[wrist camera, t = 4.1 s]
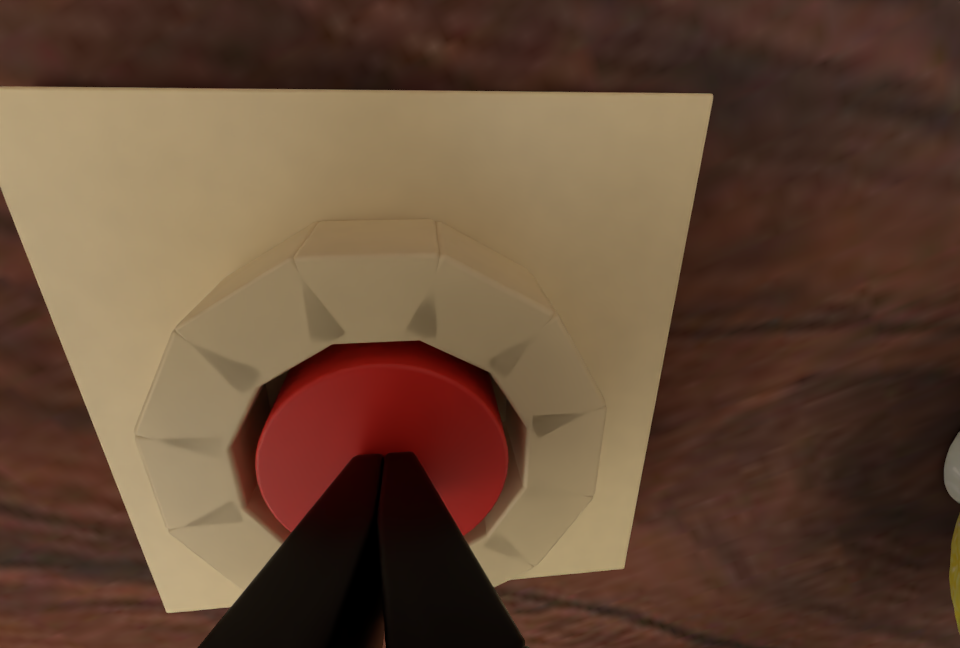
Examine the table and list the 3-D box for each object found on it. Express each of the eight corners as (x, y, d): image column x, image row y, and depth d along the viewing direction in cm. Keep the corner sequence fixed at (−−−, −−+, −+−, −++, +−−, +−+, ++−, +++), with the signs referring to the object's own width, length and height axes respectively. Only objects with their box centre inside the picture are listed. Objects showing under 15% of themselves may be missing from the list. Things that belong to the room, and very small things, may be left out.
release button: (495, 306, 8) (514, 358, 7) (491, 477, 10) (505, 552, 8) (266, 315, 8) (229, 372, 6) (300, 490, 9) (276, 572, 8)
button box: (677, 93, 8) (801, 94, 6) (606, 528, 13) (658, 648, 10) (26, 86, 7) (-205, 84, 5) (189, 565, 12) (119, 710, 9)
